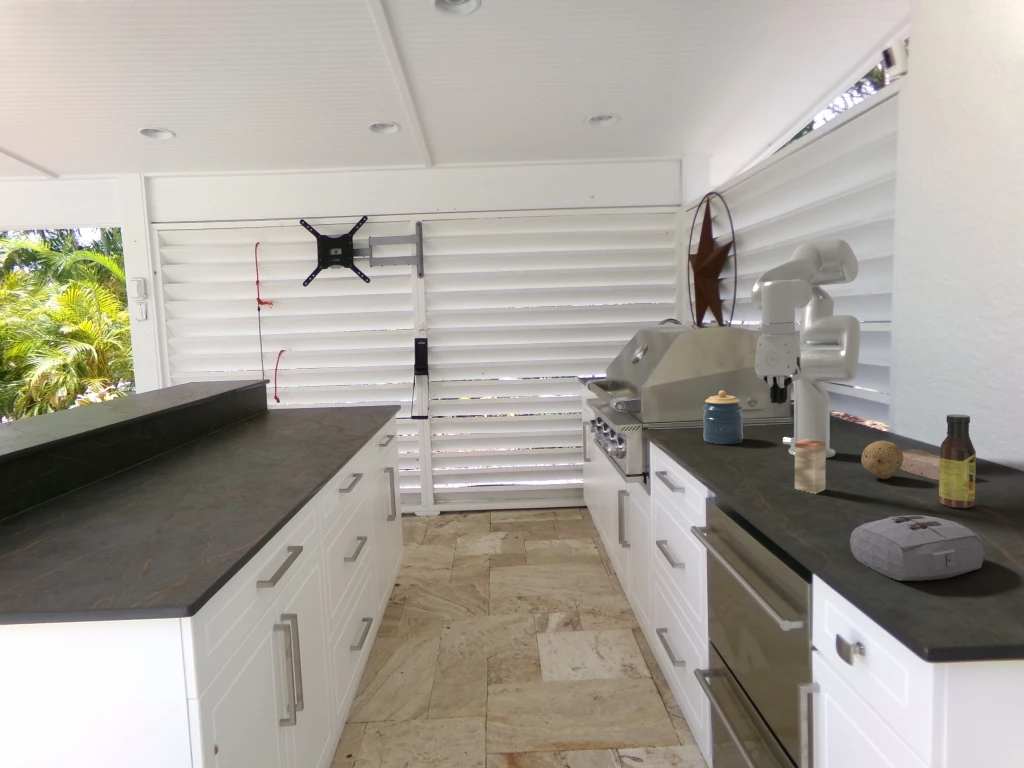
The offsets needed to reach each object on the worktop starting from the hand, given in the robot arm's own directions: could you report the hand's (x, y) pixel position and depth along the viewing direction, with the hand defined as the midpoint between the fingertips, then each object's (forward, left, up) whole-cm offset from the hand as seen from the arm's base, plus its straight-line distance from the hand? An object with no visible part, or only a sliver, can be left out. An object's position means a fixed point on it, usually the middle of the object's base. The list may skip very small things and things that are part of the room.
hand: (778, 402), depth 148 cm
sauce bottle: (+35, +10, -21) cm, 42 cm away
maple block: (+8, 0, -21) cm, 23 cm away
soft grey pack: (+41, -28, -22) cm, 54 cm away
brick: (+22, +34, -22) cm, 46 cm away
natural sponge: (+16, +20, -21) cm, 33 cm away
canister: (-39, +33, -21) cm, 55 cm away
